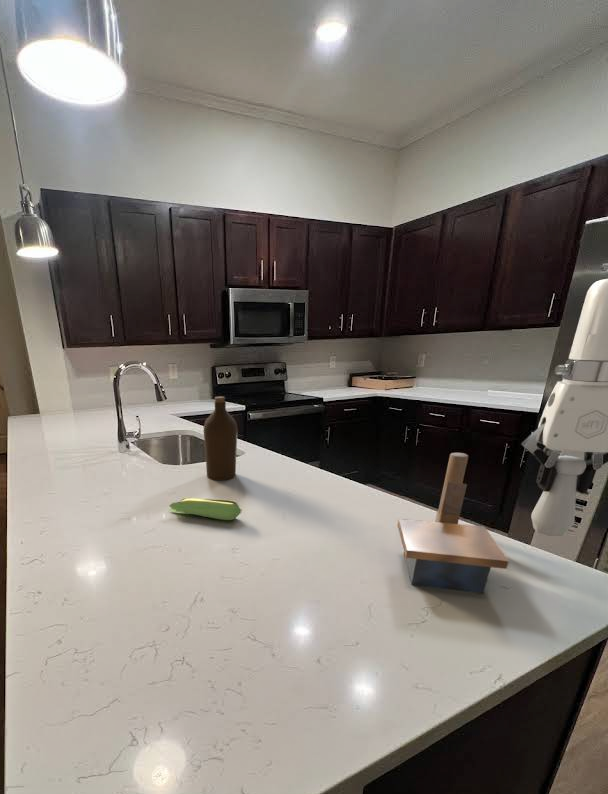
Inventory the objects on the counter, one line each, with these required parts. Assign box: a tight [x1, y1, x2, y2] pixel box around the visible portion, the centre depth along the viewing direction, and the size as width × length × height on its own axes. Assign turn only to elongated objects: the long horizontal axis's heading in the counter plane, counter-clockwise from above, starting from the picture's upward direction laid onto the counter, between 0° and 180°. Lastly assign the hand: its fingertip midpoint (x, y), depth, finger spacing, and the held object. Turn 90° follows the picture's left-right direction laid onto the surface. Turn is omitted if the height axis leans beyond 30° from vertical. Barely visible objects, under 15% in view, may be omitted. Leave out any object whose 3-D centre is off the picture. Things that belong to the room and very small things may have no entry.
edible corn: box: [168, 497, 243, 522], centre depth 106 cm, size 5×20×5 cm, turn 71°
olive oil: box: [203, 396, 239, 481], centre depth 132 cm, size 11×11×25 cm
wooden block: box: [434, 452, 469, 524], centre depth 93 cm, size 4×11×18 cm, turn 156°
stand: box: [397, 518, 509, 594], centre depth 80 cm, size 16×14×8 cm
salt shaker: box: [530, 455, 586, 537], centre depth 69 cm, size 6×6×13 cm
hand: (561, 488), depth 68 cm, fingers closed on salt shaker, 4 cm apart
